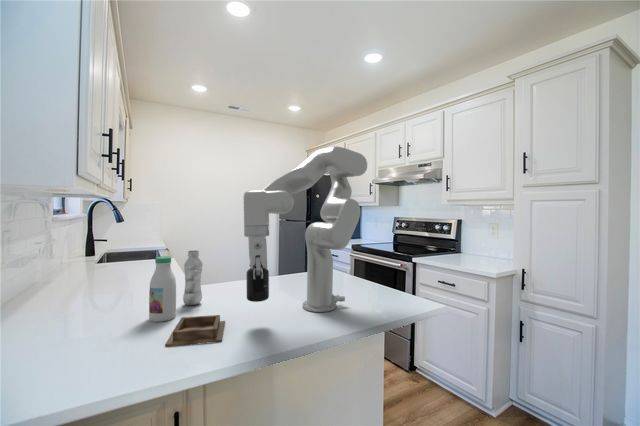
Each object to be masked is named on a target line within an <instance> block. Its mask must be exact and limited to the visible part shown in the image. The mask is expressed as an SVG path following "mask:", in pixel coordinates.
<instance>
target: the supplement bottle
mask: <svg viewBox="0 0 640 426" xmlns="http://www.w3.org/2000/svg"><path fill="white" fill-rule="evenodd" d="M255 261H256V259H255ZM249 267H250V268H248V270H247V271H246V300H247V301H249V302H252V303H253V302H254V303H258V302H264V301H266V300H268V299H269V298H270V273H269V272H270V271H269V269H268V268H267V269H265V268H263V278H264V292H258V293H253V270H252V269H251V266H250V264H249ZM254 268H256V267H255V264H254ZM255 272H256V271H255Z"/></svg>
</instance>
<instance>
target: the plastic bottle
mask: <svg viewBox="0 0 640 426" xmlns="http://www.w3.org/2000/svg"><path fill="white" fill-rule="evenodd" d="M199 253H200V252H199V250H188V251H187V259H186V260H185V262H184V265H183V270H184V280H185V282H184V291H183V296H182V301H183V304H185V306H194V305H195V306H196V305H199V304H200V303H201V302H202V299H203V294H202V293H203V292H202V286H201V285H202V282H201V281H202V280H201V279H202V271H203V262H202V260H201V259H200V258H199V257H200V254H199Z"/></svg>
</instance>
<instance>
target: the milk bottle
mask: <svg viewBox="0 0 640 426" xmlns="http://www.w3.org/2000/svg"><path fill="white" fill-rule="evenodd" d="M154 260H155V270H154V272H153V274H152V276H151V278H150V282H149V292H148V293H149V298H148V300H149V301H148V308H149V309H148V319H149V321H150V322H153V323H162V322H166V321H171V320H172V319H174V318H176V315H177V281H176V277H175V275H174V272H173V271H172V267H171V264H172V257H171V256H164V255H163V256H158V257H155V259H154Z"/></svg>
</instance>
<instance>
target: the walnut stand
mask: <svg viewBox="0 0 640 426" xmlns="http://www.w3.org/2000/svg"><path fill="white" fill-rule="evenodd" d="M225 327H226V320H221V315H220V314H213V315H198V316H196V315H195V316H183V317H181V318H180V319H179V321H178V323H177V324H175V327H174V329H173V331H172V332H171V334H170V336H169V337H168V339H167V341H165V342H166V343H164V347H165V348H167V347H168V348H169V347H179V346H180V345H181V346H189V345H190V344H192V345H199V344H198V343H203V344H208V343H207V342H215V343H221V342H222V341H223V337H224V331H225Z"/></svg>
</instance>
